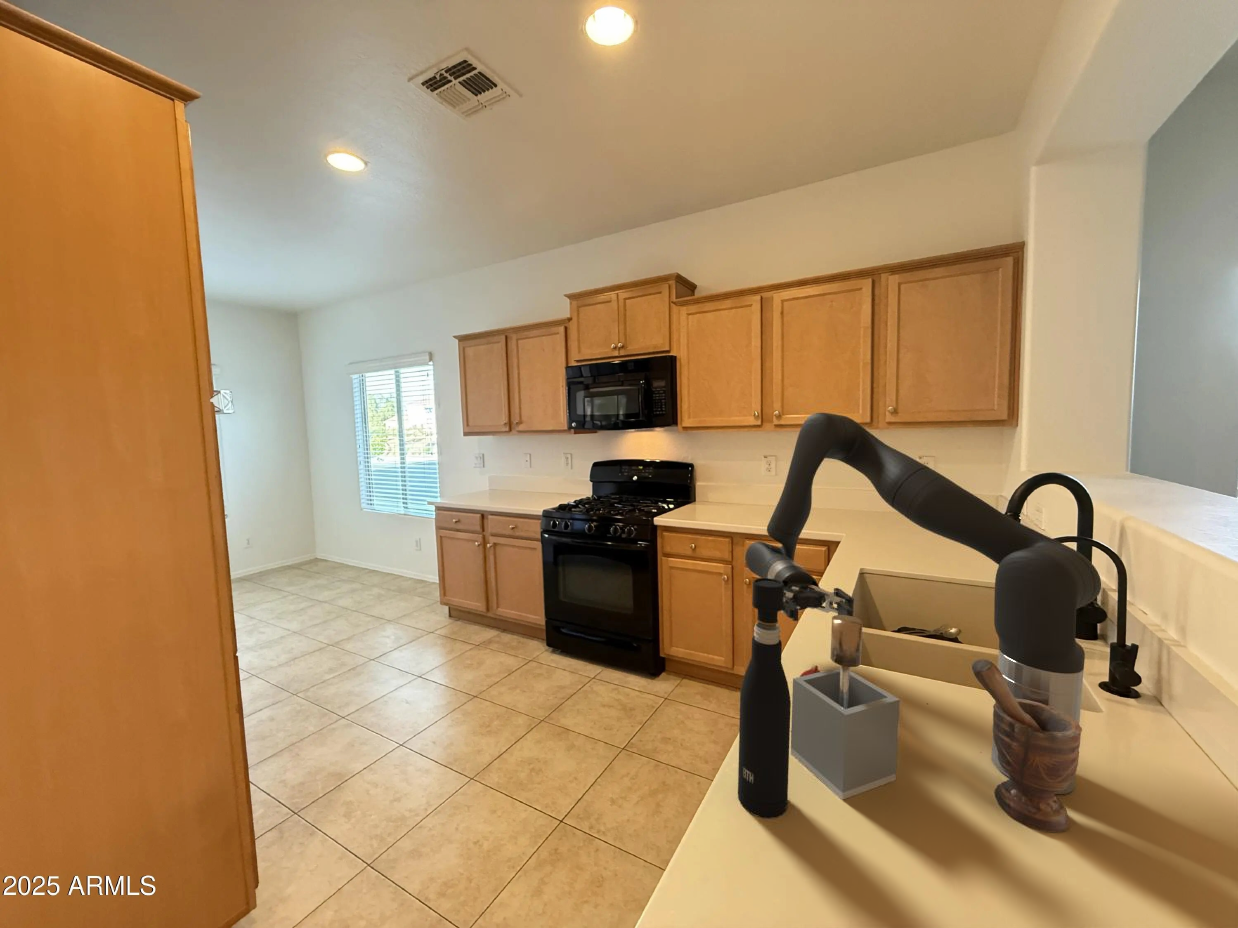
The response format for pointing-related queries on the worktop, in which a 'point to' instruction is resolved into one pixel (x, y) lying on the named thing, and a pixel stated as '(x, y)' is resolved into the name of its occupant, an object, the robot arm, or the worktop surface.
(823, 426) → the robot arm
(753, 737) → the black water bottle
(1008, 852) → the worktop surface
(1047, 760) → the mortar and pestle
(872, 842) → the worktop surface
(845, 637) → the plunger
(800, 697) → the grey open box
